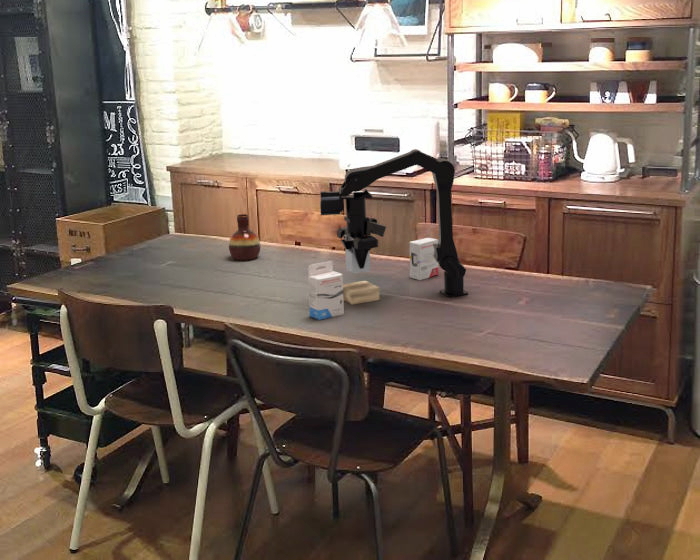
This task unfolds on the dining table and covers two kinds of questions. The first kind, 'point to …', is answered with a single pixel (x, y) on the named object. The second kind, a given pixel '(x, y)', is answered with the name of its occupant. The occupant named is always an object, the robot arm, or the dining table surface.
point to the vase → (244, 241)
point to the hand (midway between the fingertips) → (358, 266)
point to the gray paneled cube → (352, 262)
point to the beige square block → (360, 292)
